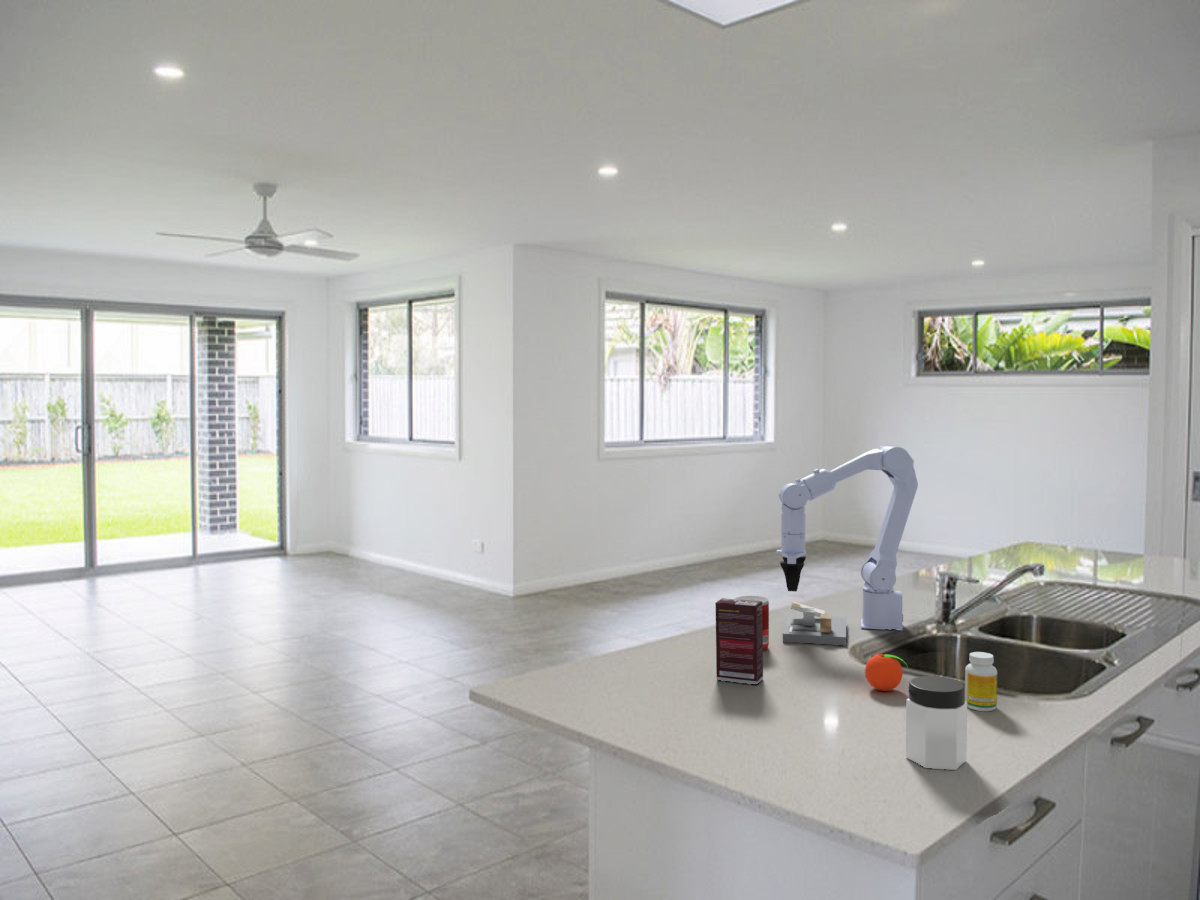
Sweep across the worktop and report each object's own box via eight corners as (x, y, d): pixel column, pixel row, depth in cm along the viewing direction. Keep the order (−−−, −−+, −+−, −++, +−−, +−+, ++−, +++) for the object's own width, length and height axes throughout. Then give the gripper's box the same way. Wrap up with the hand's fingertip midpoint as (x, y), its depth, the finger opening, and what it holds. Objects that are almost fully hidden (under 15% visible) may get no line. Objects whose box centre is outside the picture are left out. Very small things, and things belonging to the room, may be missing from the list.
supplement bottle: (959, 702, 168) (960, 650, 167) (989, 701, 168) (989, 650, 167) (971, 712, 162) (972, 659, 162) (1002, 711, 162) (1002, 658, 162)
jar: (920, 744, 148) (921, 671, 147) (972, 757, 143) (973, 681, 142) (898, 762, 141) (899, 685, 140) (952, 775, 136) (953, 696, 135)
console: (846, 625, 224) (846, 612, 224) (846, 645, 206) (846, 631, 206) (787, 622, 228) (787, 609, 228) (782, 642, 210) (782, 628, 209)
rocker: (823, 614, 224) (825, 610, 224) (823, 618, 220) (824, 614, 220) (791, 605, 226) (792, 601, 226) (790, 608, 222) (791, 604, 222)
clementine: (907, 686, 177) (907, 650, 177) (909, 697, 171) (909, 660, 170) (864, 683, 180) (864, 647, 179) (864, 694, 173) (865, 657, 172)
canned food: (767, 643, 209) (767, 595, 208) (770, 653, 201) (770, 603, 201) (733, 642, 210) (733, 595, 209) (735, 652, 202) (735, 603, 201)
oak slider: (831, 627, 213) (831, 614, 212) (831, 632, 208) (831, 618, 208) (820, 627, 213) (820, 613, 213) (820, 632, 209) (820, 618, 209)
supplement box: (763, 679, 183) (763, 600, 182) (757, 686, 178) (757, 605, 177) (722, 674, 186) (721, 597, 185) (715, 681, 182) (714, 602, 181)
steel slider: (814, 621, 219) (814, 608, 219) (813, 625, 215) (813, 612, 215) (804, 620, 220) (804, 607, 219) (803, 625, 215) (803, 611, 215)
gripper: (778, 528, 231) (778, 581, 232) (774, 536, 217) (774, 593, 218) (807, 528, 229) (807, 582, 230) (804, 537, 215) (804, 594, 216)
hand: (793, 588), depth 224 cm, fingers open, 6 cm apart
